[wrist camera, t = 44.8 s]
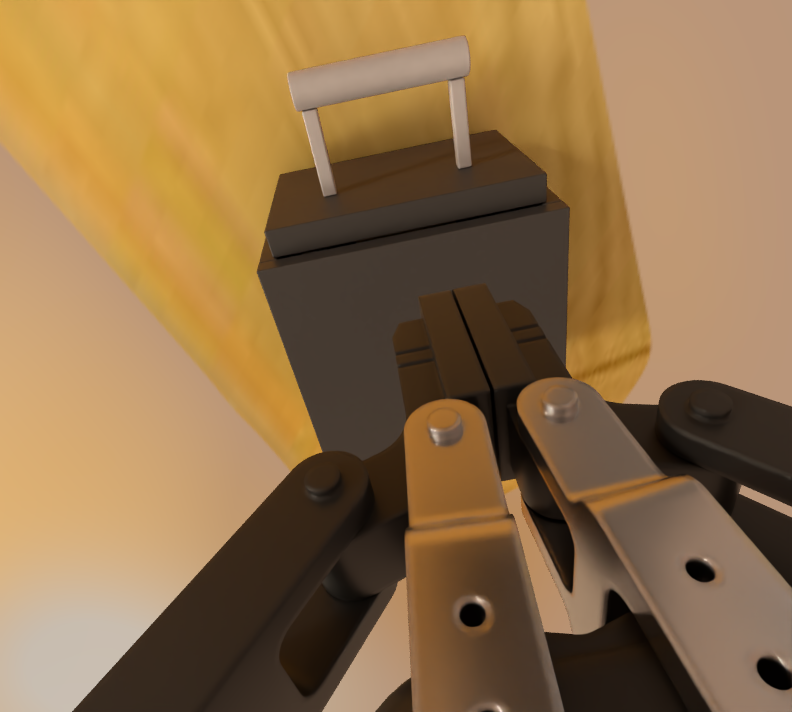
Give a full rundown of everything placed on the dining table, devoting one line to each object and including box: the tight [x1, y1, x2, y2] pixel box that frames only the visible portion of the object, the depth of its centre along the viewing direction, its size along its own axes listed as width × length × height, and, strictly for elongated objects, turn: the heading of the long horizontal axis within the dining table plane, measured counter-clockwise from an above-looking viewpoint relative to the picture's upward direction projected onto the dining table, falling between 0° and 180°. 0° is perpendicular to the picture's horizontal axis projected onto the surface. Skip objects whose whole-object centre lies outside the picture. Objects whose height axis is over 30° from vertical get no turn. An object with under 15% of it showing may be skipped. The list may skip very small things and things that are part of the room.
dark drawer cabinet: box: [257, 188, 570, 461], centre depth 29 cm, size 15×13×10 cm
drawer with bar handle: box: [265, 36, 547, 258], centre depth 26 cm, size 18×11×8 cm, turn 10°
